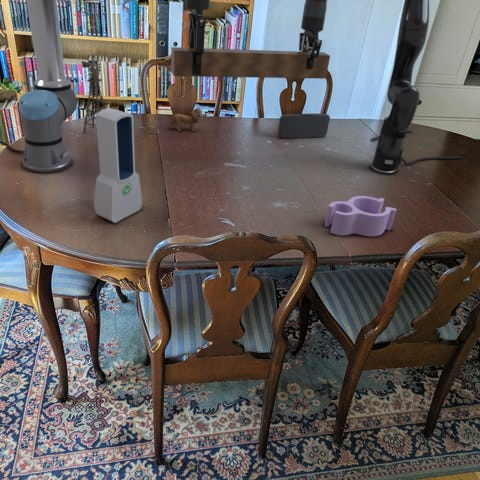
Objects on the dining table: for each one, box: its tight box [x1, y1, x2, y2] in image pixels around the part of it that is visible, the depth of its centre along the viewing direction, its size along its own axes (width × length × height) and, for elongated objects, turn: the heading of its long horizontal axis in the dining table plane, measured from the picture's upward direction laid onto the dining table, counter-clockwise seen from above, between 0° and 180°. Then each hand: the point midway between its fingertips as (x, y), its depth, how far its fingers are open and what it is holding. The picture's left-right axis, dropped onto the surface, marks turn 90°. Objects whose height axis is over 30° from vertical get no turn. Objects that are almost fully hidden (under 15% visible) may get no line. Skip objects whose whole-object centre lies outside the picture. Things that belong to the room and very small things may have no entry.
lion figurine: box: [167, 107, 203, 132], centre depth 197 cm, size 15×5×9 cm, turn 110°
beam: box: [170, 46, 331, 80], centre depth 160 cm, size 55×5×8 cm, turn 107°
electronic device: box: [93, 107, 143, 224], centre depth 129 cm, size 12×8×30 cm, turn 148°
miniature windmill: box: [81, 53, 107, 133], centre depth 181 cm, size 9×8×30 cm
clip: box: [324, 195, 398, 237], centre depth 141 cm, size 20×12×7 cm, turn 109°
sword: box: [371, 131, 411, 142], centre depth 217 cm, size 31×3×1 cm, turn 126°
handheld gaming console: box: [277, 113, 331, 139], centre depth 203 cm, size 23×3×10 cm, turn 108°
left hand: (194, 72), depth 155 cm, fingers closed on beam, 5 cm apart
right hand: (306, 66), depth 166 cm, fingers closed on beam, 5 cm apart
